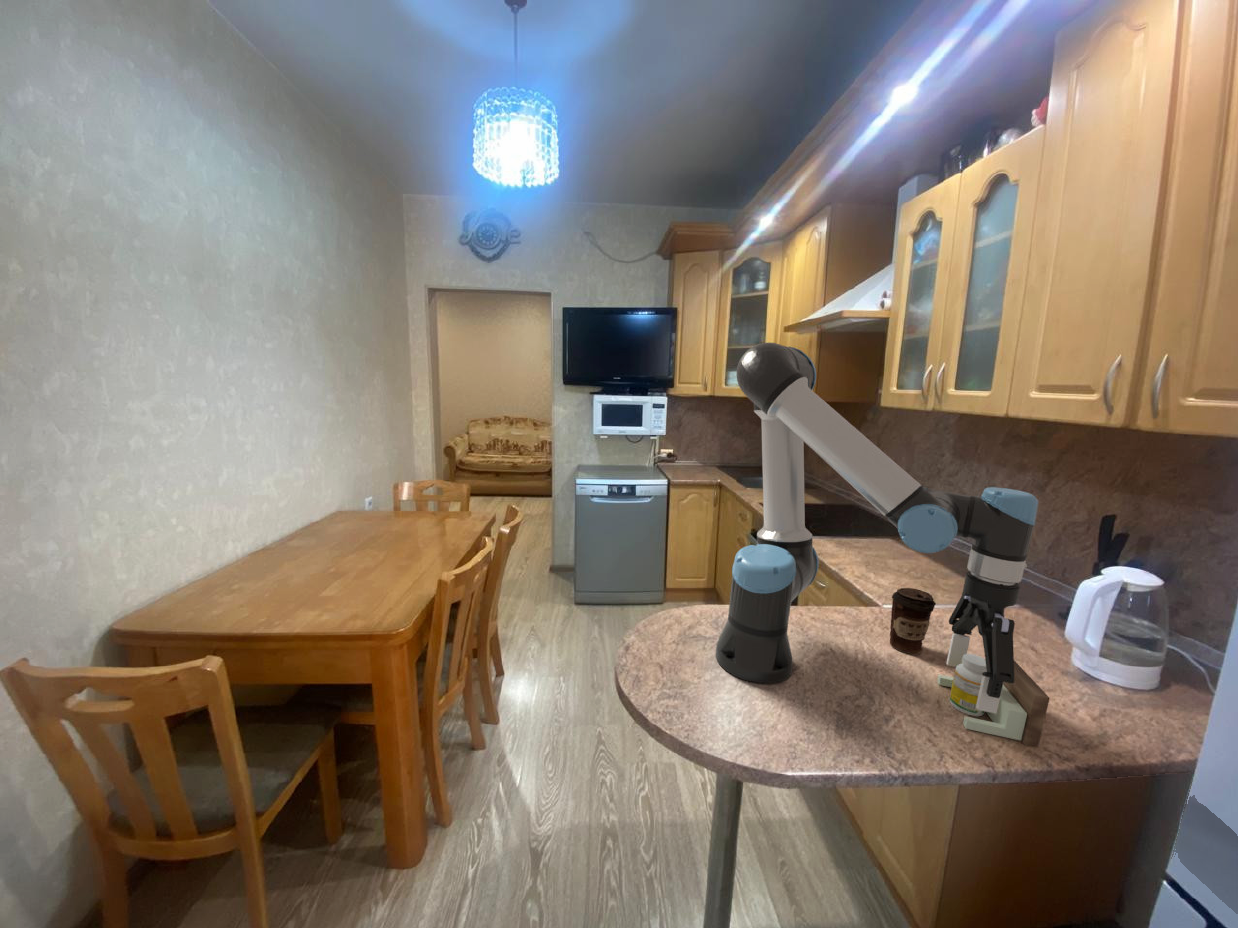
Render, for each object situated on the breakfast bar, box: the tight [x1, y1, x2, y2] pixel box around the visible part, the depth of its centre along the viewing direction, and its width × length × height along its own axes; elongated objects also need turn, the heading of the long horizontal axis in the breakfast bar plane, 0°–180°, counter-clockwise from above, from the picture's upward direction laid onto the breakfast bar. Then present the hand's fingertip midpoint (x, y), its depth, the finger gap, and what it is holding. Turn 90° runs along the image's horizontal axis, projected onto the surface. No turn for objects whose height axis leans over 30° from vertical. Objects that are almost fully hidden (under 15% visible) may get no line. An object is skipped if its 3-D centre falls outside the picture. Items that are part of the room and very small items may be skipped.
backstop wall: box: [1003, 660, 1051, 748], centre depth 85 cm, size 2×15×9 cm, turn 164°
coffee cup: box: [889, 587, 937, 655], centre depth 106 cm, size 9×8×13 cm
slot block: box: [936, 674, 1027, 742], centre depth 87 cm, size 8×14×5 cm, turn 164°
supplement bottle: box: [949, 653, 987, 717], centre depth 87 cm, size 5×5×10 cm
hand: (969, 686), depth 87 cm, fingers open, 13 cm apart
